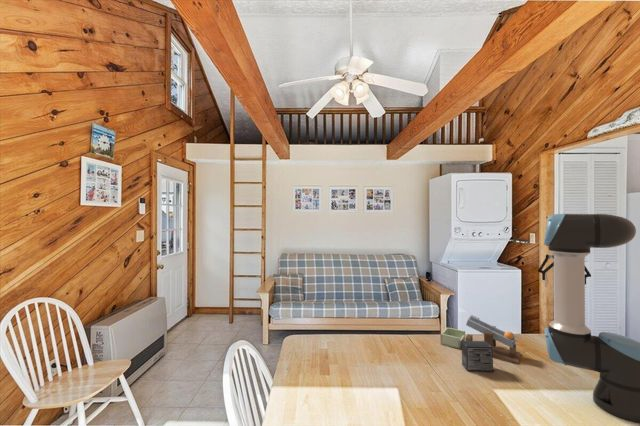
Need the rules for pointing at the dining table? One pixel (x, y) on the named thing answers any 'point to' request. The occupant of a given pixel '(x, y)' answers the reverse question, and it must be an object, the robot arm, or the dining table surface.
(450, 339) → the dish
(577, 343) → the robot arm
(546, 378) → the dining table surface
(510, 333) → the ball
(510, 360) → the stand
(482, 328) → the lever
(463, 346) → the small box
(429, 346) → the dining table surface
